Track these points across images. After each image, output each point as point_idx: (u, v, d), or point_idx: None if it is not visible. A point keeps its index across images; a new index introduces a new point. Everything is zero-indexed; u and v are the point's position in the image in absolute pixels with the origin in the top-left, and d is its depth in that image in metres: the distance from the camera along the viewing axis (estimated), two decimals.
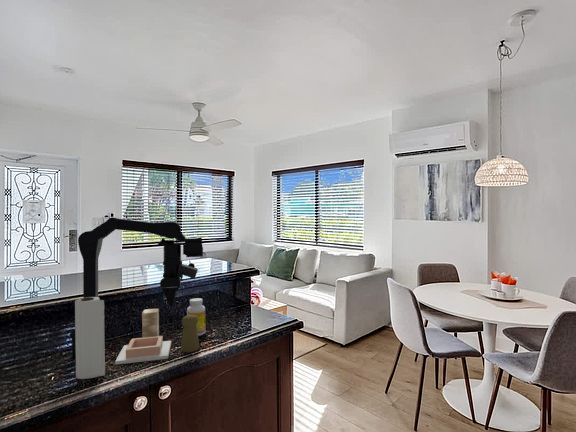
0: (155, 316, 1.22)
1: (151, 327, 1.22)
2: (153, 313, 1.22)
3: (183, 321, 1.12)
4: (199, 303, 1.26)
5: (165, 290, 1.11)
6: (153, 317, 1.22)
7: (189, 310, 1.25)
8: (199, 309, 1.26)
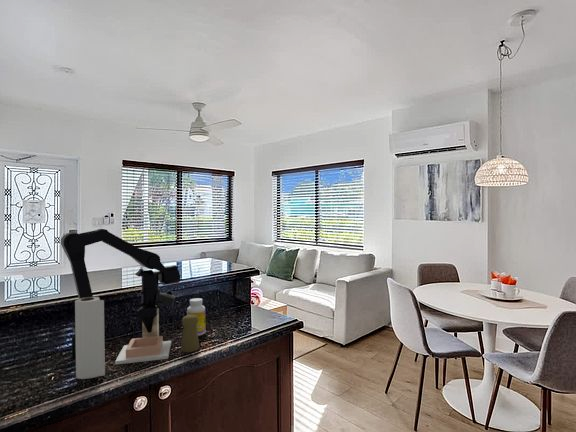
0: None
1: None
2: None
3: (183, 321, 1.12)
4: (199, 303, 1.26)
5: (143, 318, 1.19)
6: None
7: (189, 310, 1.25)
8: (199, 309, 1.26)
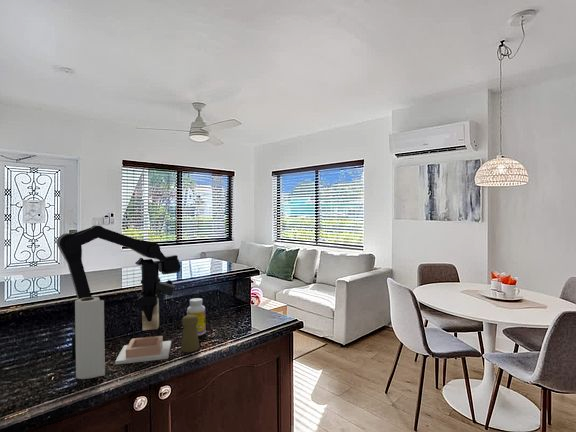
0: None
1: None
2: None
3: (183, 321, 1.12)
4: (199, 303, 1.26)
5: (143, 306, 1.19)
6: None
7: (189, 310, 1.25)
8: (199, 309, 1.26)
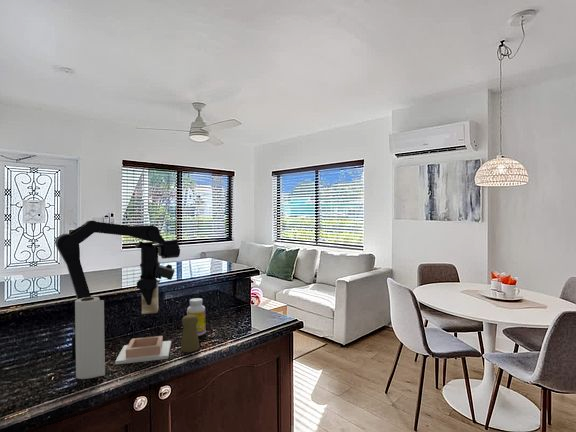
0: (154, 289, 1.21)
1: None
2: None
3: (183, 321, 1.12)
4: (199, 303, 1.26)
5: (143, 290, 1.18)
6: None
7: (189, 310, 1.25)
8: (199, 309, 1.26)
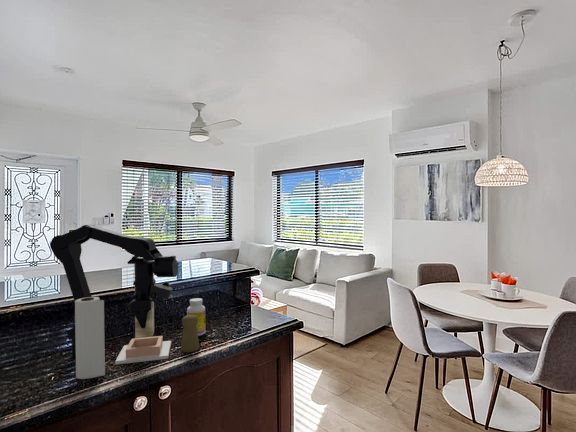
0: (150, 310, 1.08)
1: None
2: None
3: (183, 321, 1.12)
4: (199, 303, 1.26)
5: (136, 311, 1.05)
6: None
7: (189, 310, 1.25)
8: (199, 309, 1.26)
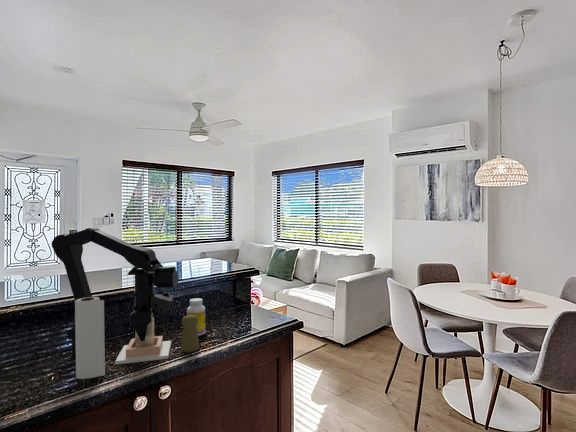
0: (150, 325, 1.08)
1: (145, 338, 1.08)
2: None
3: (183, 321, 1.12)
4: (199, 303, 1.26)
5: (135, 324, 1.04)
6: (148, 326, 1.08)
7: (189, 310, 1.25)
8: (199, 309, 1.26)
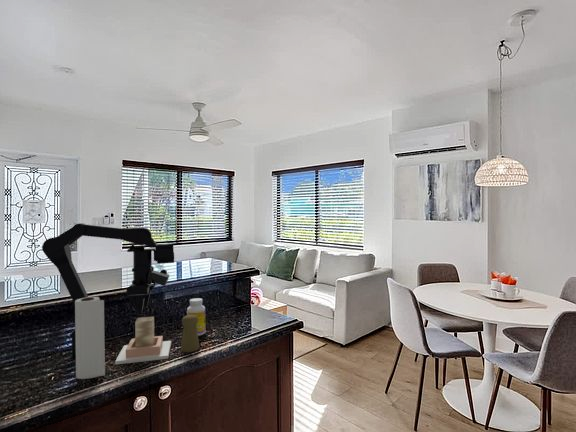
0: (150, 325, 1.08)
1: (145, 338, 1.08)
2: (148, 322, 1.08)
3: (183, 321, 1.12)
4: (199, 303, 1.26)
5: (133, 297, 1.10)
6: (148, 326, 1.08)
7: (189, 310, 1.25)
8: (199, 309, 1.26)
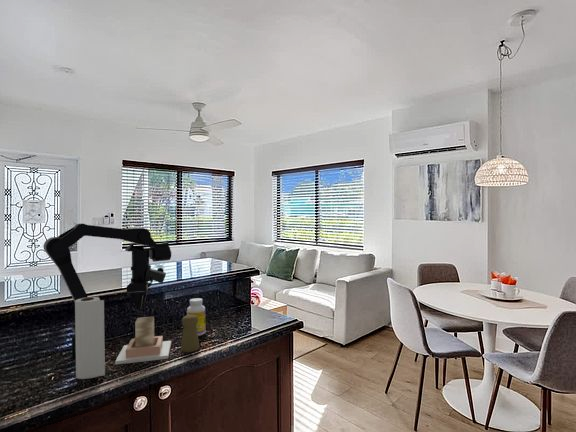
0: (150, 325, 1.08)
1: (145, 338, 1.08)
2: (148, 322, 1.08)
3: (183, 321, 1.12)
4: (199, 303, 1.26)
5: (132, 294, 1.15)
6: (148, 326, 1.08)
7: (189, 310, 1.25)
8: (199, 309, 1.26)
